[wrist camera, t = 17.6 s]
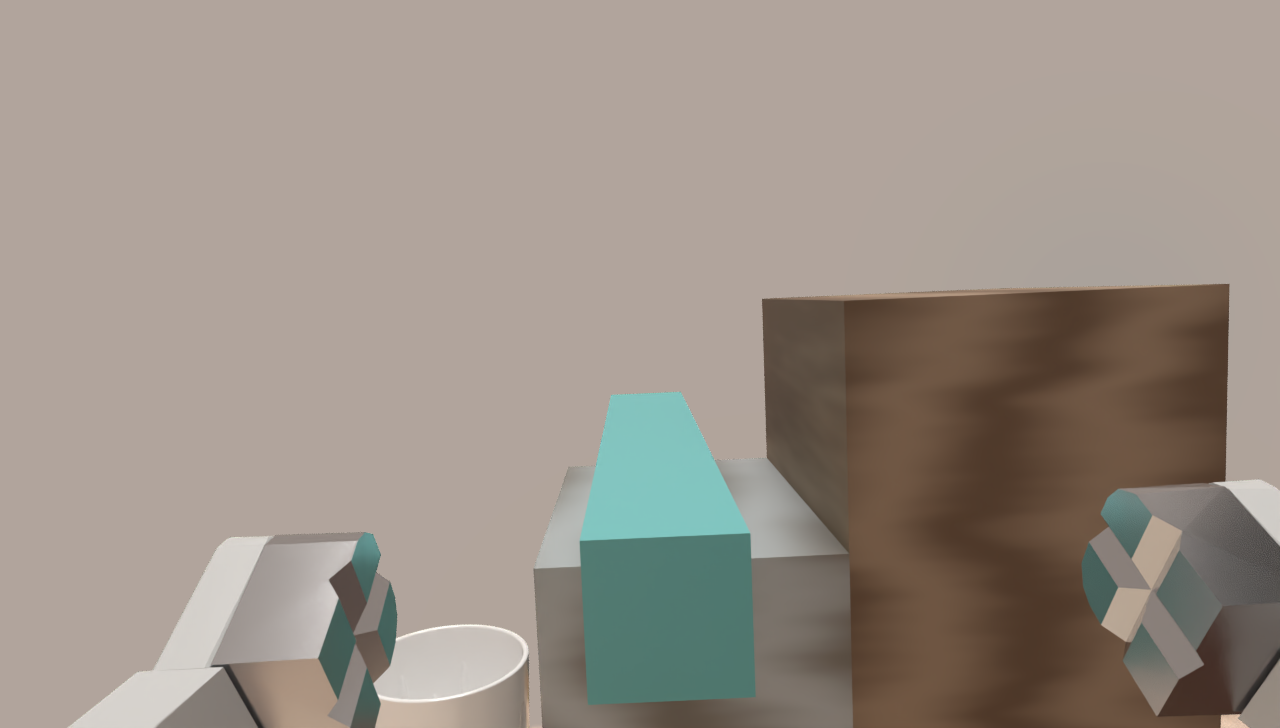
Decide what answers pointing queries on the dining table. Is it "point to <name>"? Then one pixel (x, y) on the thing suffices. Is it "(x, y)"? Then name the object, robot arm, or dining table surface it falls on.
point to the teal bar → (663, 563)
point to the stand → (936, 508)
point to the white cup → (456, 680)
